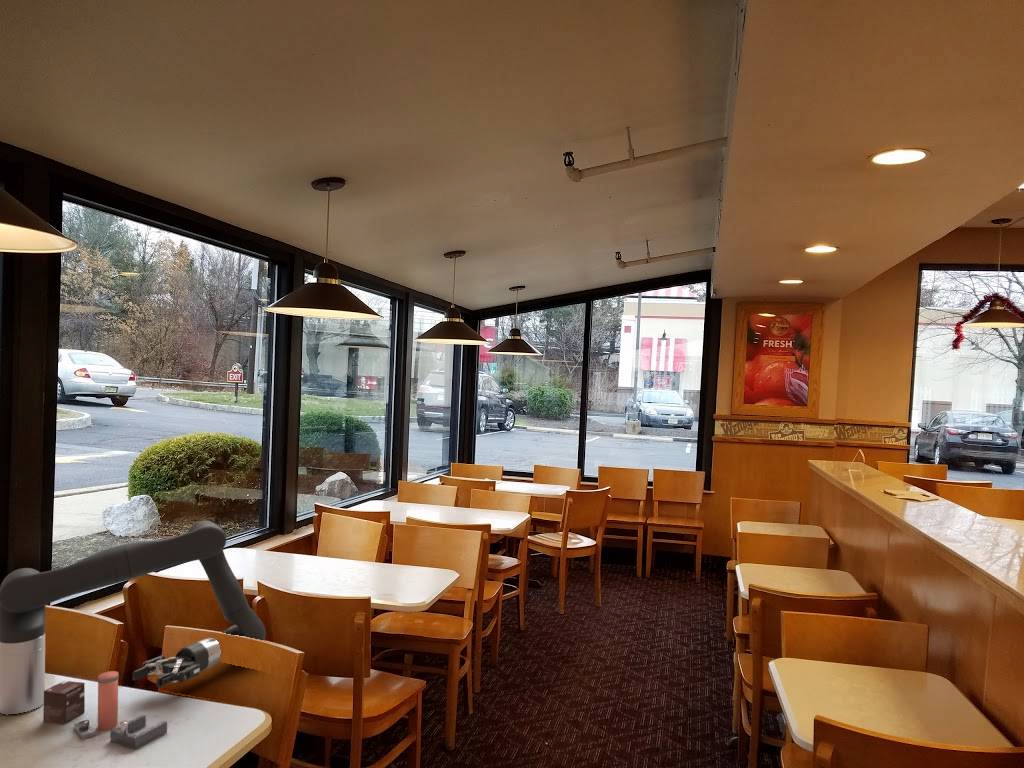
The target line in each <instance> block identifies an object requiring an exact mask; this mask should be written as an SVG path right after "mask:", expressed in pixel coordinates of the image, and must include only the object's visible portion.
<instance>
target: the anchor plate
mask: <svg viewBox="0 0 1024 768" xmlns="http://www.w3.org/2000/svg"><path fill="white" fill-rule="evenodd" d="M90 722H91V721H90V719H89V720H88V719H85V720H82V721H79V722H76V723H73V729H74V730H75V732H76V733H77V735H78V736H79V738H80V739H81V740H86V739H89V738H91V737H94V736H96V730H95V729H94V728H93V727H92V725H91V723H90Z"/></svg>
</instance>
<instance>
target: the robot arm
mask: <svg viewBox="0 0 1024 768" xmlns="http://www.w3.org/2000/svg"><path fill="white" fill-rule="evenodd" d="M226 544H227V536H226V533H225V531H224V530H223V529H222V528H221V527H220V526H219V525H218V524H216V522H213V521H210V520H199V521H196V522H195V523H193V524H192V525H191V526H190V527H189V529H188V530H187V531H186V533H184V534H179V535H178V536H177V535H176V536H174V537H171V538H170V537H169V538H166V539H155V540H154V539H153V540H144V541H143V540H141V541H135V542H129V543H125V544H121V545H116V546H113V547H110V548H106V549H103V550H100V551H98V552H95V553H93V554H90V555H88V556H87V557H84V558H83V559H80V560H78V561H76V562H73V563H72V564H69V565H66V566H64V567H60V568H57V569H56V568H55V569H53V570H52V569H51V570H47V571H43V572H40V571H39V570H37V569H34V568H31V567H22V568H17V569H15V570H13V571H12V572H10V573H9V574H8V575H6V576H5V577H4V578H3V580H2V582H1V584H0V713H1V714H0V715H2V714H17V713H22V714H24V713H23V712H26V713H28V712H27V711H29V712H32V711H34V710H33V709H35V710H36V708H37V709H39V708H40V707H42V706H43V705H44V691H45V690H46V688H45V687H46V686H45V685H46V682H45V680H46V674H45V673H46V606H47V605H48V604H50V603H53V602H56V601H59V600H61V599H64V598H67V597H70V596H72V595H77V594H81V593H85V592H89V591H93V590H97V589H100V588H104V587H108V586H111V585H115V584H119V583H122V582H126V581H129V580H132V579H135V578H138V577H142V576H145V575H149V574H151V573H154V572H157V571H161V570H163V569H167V568H169V567H172V566H175V565H179V564H184V563H185V564H186V563H189V562H194V561H199V562H200V565H201V566H202V568H203V570H204V573H205V574H206V576H207V579H208V581H209V584H210V586H211V589H212V591H213V594H214V596H215V598H216V602H217V603H218V606H219V609H220V610H221V613H222V615H223V617H224V620H225V621H227V623H231V624H234V625H232V626H229V627H228V628H227V629H225V630H223V631H222V632H221V633H226V634H231V635H239V636H246V637H250V638H255V639H260V640H264V641H265V639H266V635H267V634H266V627H265V625H264V624H263V621H262V620H261V618H259V616H258V615H257V614H256V612H255V611H254V610H253V609H252V607H250V605H249V602H248V599H247V597H246V595H245V593H244V591H243V588H242V587H241V584H240V583H239V581H238V579H237V577H236V575H235V574H234V572H233V570H232V568H231V567H230V565H229V563H228V560H227V557H226V555H225V552H224V548H225V547H226ZM220 654H221V649H220V645H219V642H218V641H217V640H216V639H214V638H210V637H208V638H204V639H200V640H199V641H196V642H194V643H191V644H189V645H185V646H184V647H181V648H180V649H179V650H178V652H177V653H176V655H175V656H172V657H171V656H170V657H168V658H166V655H163V654H162V655H158V656H157V657H156V656H155V657H154V658H151V659H148V660H146V661H144V662H142V667H141V668H138V669H136V670H134V671H133V672H132V677H131V678H132V681H135V682H136V681H138V680H140V679H143V678H145V677H148V676H150V675H156V676H159V677H157V678H156V683H155V684H156V685H155V686H156V687H157V688H162V687H163V686H164V687H165V686H166V685H168V684H171V683H177V682H178V683H179V684H181V683H182V684H183V683H185V682H187V681H189V680H191V679H193V678H195V677H197V676H199V675H200V672H203V671H205V670H207V669H209V668H211V667H213V666H215V665H216V664H218V663H219V662H218V660H219V658H220ZM217 662H218V663H217ZM160 668H161V670H160ZM42 704H43V705H42ZM41 705H42V706H41ZM38 707H39V708H38ZM31 710H32V711H31ZM17 715H18V714H17Z"/></svg>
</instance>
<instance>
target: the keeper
mask: <svg viewBox="0 0 1024 768" xmlns="http://www.w3.org/2000/svg"><path fill="white" fill-rule="evenodd" d="M146 715H147V714H146ZM146 715H145V714H141V715H139V716H137V717H134V718H133V719H131V720H129V721H128V720H123V721H121V722H120V723H119V725H117V726H116V727H115V728H113V729H111V730H109V731H110V738H109V741H110V742H111V743H113V744H117V745H120V746H123V747H124V748H127V749H128V748H129V749H131V750H134V751H136V750H137V749H139V748H141V747H143V746H145V745H147V744H149V743H151V742H152V741H154V740H157V739H158V738H160V737H162V736H164V735H166V734H168V721H166V720H163V721H161V722H159V723H157V724H156V725H153V726H152V727H150V728H147V729H146V730H143V731H142V732H140V733H138V734H133V733H135V732H138V731H139V730H141V729H143V728H145V727H146V726H147V716H146Z"/></svg>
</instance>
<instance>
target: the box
mask: <svg viewBox="0 0 1024 768" xmlns="http://www.w3.org/2000/svg"><path fill="white" fill-rule="evenodd" d="M85 688H86V687H85V682H81V681H71V680H63V681H61V682H60V683H57V684H55V685H52V686H51V687H49V688H47V689H45V691H44V704H43V715H42V716H43V717H42V718H43V719H42V722H44V721H46V722H45V723H53V724H61V725H64V724H65V725H66V724H68V723H69V722H72V721H73V720H74V719H76V718H78V717H79V716H82V715H83V714H84V713H85V706H86V705H85V704H86V703H85V701H86V700H85Z"/></svg>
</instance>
